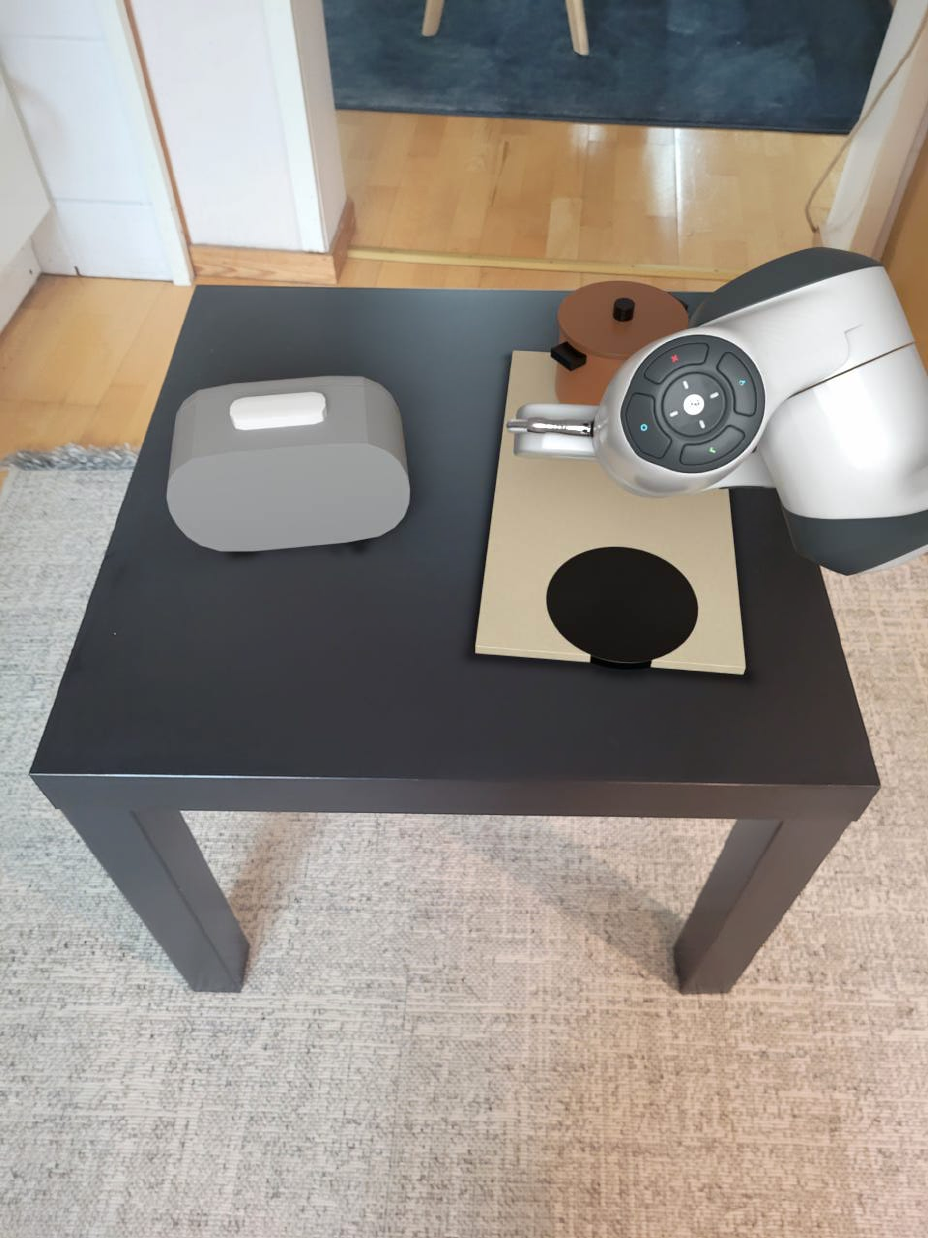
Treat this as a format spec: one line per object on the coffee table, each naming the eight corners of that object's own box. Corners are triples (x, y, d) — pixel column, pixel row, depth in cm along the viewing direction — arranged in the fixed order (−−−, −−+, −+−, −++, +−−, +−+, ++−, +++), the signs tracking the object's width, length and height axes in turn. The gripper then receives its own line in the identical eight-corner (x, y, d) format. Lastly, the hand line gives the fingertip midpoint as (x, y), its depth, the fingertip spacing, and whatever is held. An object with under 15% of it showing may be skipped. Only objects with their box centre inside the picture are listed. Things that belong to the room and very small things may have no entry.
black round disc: (693, 559, 84) (695, 551, 84) (700, 676, 76) (702, 669, 76) (549, 548, 85) (549, 541, 85) (540, 663, 77) (541, 656, 77)
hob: (714, 368, 102) (716, 361, 101) (743, 674, 76) (746, 667, 76) (512, 357, 104) (513, 349, 103) (475, 653, 78) (475, 646, 77)
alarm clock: (405, 472, 92) (396, 356, 82) (414, 541, 86) (405, 427, 76) (194, 491, 91) (157, 376, 80) (188, 563, 85) (147, 449, 74)
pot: (625, 338, 104) (638, 248, 96) (708, 394, 98) (730, 303, 89) (516, 392, 98) (519, 302, 90) (597, 455, 92) (609, 365, 84)
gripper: (501, 469, 64) (510, 477, 78) (807, 489, 62) (761, 494, 76) (508, 375, 63) (516, 400, 77) (817, 392, 62) (769, 415, 75)
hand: (639, 446), depth 77 cm, fingers closed
